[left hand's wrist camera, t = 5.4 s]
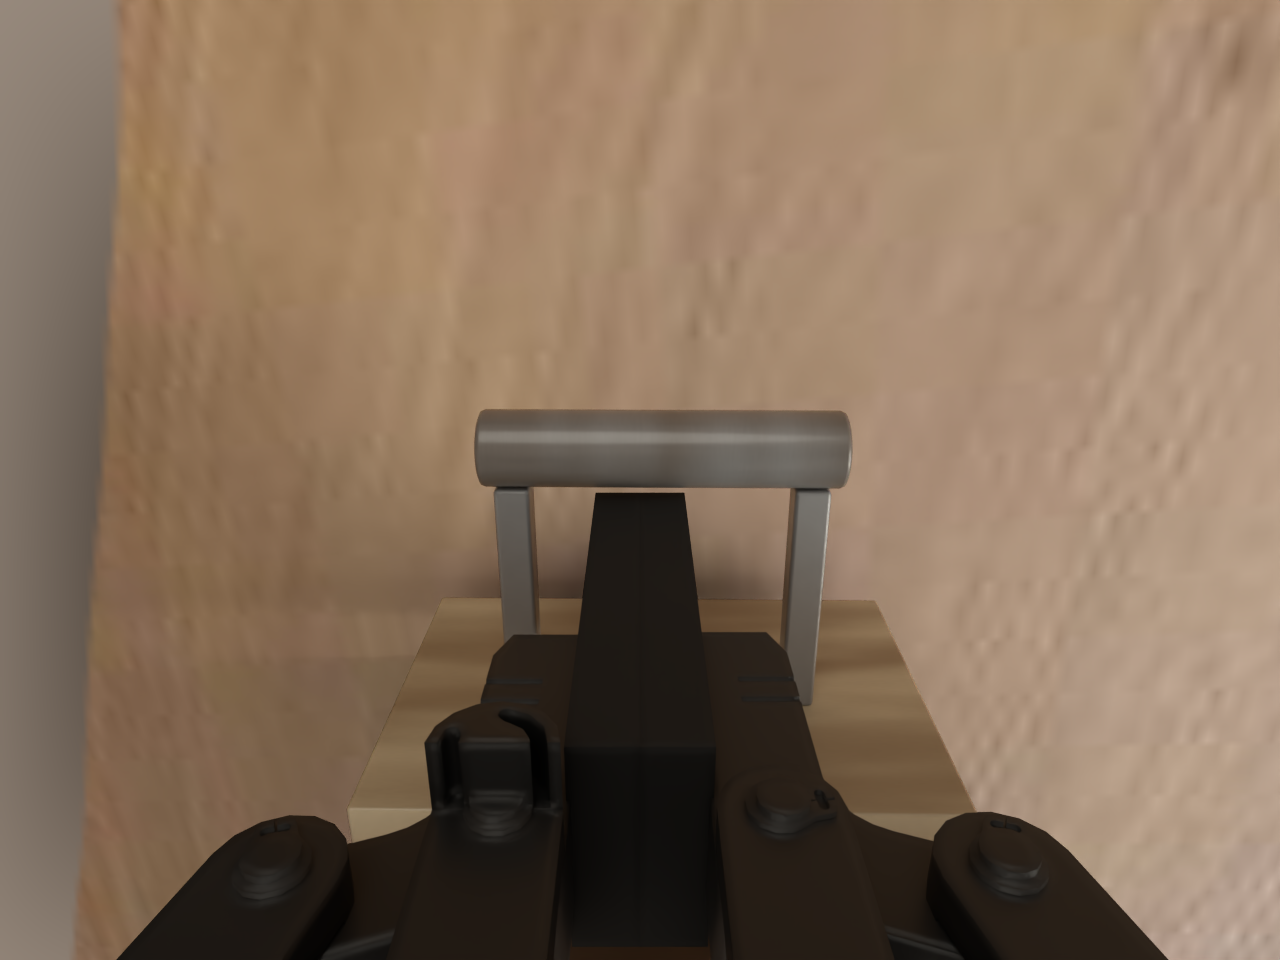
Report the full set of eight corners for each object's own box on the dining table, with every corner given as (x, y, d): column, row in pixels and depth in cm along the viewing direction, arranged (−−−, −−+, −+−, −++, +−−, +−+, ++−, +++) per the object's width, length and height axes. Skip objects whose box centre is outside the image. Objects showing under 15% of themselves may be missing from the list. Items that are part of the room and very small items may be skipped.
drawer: (418, 357, 17) (290, 477, 11) (904, 358, 17) (1044, 481, 11) (487, 1055, 25) (434, 1351, 19) (822, 1060, 25) (876, 1360, 19)
